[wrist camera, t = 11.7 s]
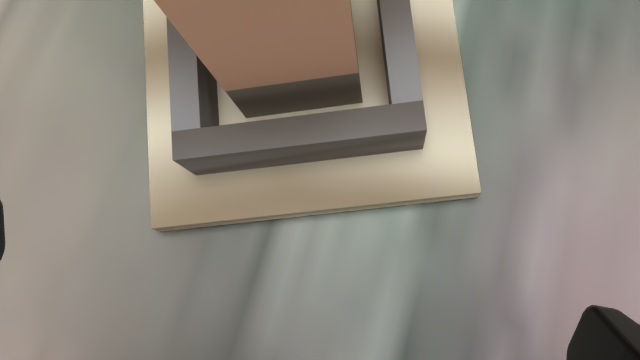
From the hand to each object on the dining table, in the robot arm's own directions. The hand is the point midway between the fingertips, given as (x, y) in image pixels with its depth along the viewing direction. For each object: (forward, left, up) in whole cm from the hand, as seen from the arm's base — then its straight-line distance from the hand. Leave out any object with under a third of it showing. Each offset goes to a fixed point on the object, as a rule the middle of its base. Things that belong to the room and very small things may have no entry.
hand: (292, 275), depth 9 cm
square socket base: (+6, +6, -13) cm, 16 cm away
